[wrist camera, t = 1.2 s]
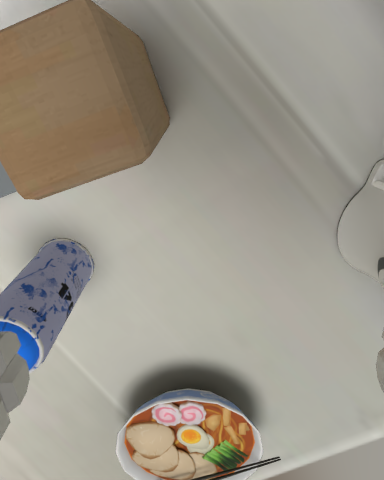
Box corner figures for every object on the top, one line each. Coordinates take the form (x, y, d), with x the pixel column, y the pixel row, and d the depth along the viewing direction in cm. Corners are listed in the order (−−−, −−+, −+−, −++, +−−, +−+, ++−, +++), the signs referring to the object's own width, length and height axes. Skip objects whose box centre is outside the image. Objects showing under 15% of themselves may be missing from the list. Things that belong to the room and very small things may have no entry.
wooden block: (56, 66, 39) (-69, 54, 20) (140, 32, 37) (85, -14, 19) (95, 153, 43) (19, 208, 24) (173, 125, 41) (154, 161, 23)
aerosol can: (97, 288, 50) (40, 405, 32) (42, 287, 51) (-44, 404, 32) (90, 238, 47) (23, 337, 29) (32, 238, 47) (-71, 336, 29)
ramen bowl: (233, 340, 54) (239, 382, 47) (280, 433, 63) (291, 481, 55) (93, 387, 59) (78, 432, 51) (154, 468, 67) (149, 517, 60)
